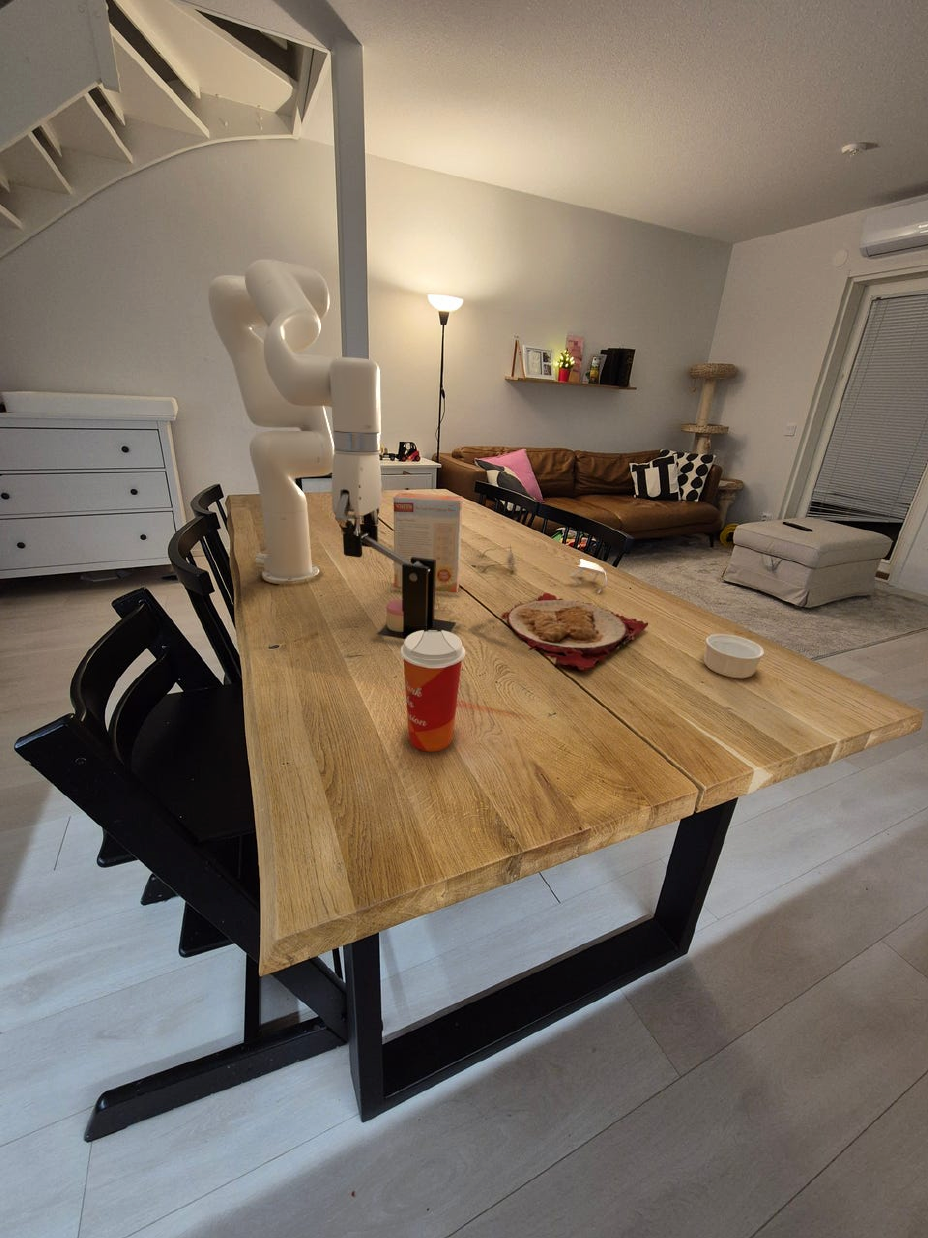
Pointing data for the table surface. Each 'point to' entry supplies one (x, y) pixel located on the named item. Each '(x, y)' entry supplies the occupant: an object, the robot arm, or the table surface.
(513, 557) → the eyeglasses
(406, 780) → the table surface
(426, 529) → the cracker box
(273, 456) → the robot arm
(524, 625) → the plate with food
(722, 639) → the ramekin
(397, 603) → the cake
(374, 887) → the table surface
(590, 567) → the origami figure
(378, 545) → the lever
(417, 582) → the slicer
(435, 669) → the paper cup
